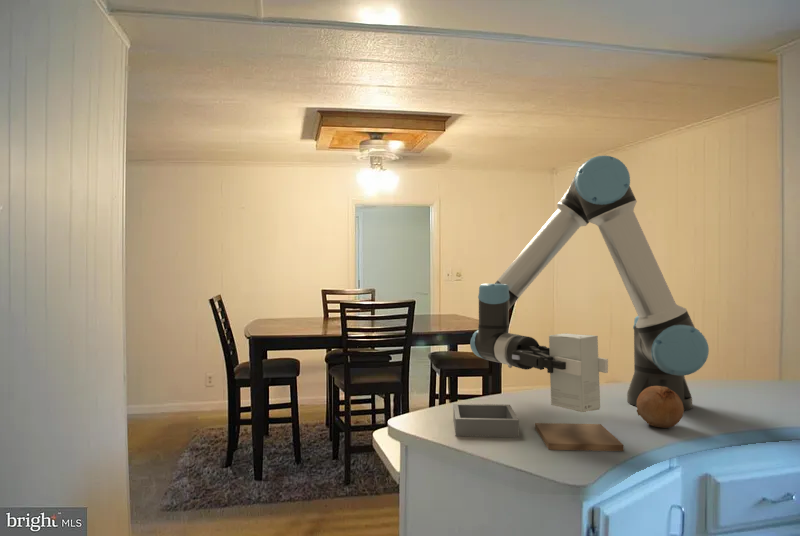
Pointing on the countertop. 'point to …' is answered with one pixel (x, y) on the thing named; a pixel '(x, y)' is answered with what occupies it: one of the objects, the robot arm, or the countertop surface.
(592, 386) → the skincare box
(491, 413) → the holder
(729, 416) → the countertop surface
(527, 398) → the countertop surface
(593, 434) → the coaster
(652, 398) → the onion
